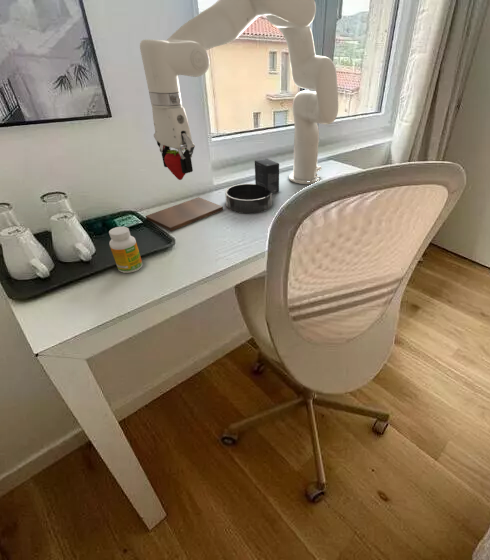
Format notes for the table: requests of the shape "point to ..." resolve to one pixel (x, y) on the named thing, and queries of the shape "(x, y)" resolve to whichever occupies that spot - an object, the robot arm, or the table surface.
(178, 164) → the strawberry
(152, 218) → the cutting board
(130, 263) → the supplement bottle
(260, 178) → the box
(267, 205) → the pan
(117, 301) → the table surface
